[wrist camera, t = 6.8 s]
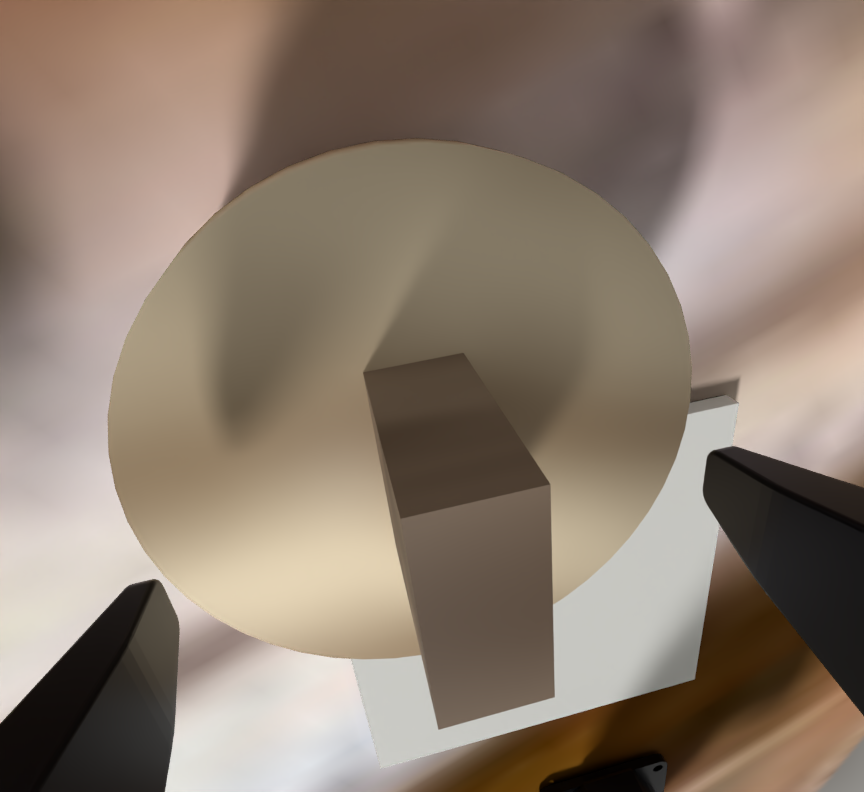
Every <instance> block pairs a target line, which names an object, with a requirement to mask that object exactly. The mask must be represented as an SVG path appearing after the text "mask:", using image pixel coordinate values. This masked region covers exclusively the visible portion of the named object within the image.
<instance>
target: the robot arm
mask: <svg viewBox="0 0 864 792" xmlns="http://www.w3.org/2000/svg"><path fill="white" fill-rule="evenodd" d="M703 497H704V500H705V502H706V504H707V506H708V507H709V509H710V510H711V512H712V514H713V515H714V517H715V518H716V520H717V521H718V523H719V524H720V526H721V528H722V529H723V531H724V532H725V534H726V535H727V537H728V538H729V540H730V541H731V543H732V545H733V546H734V548H735V549H736V551H737V552H738V554H739V555H740V557H741V559H742V560H743V562H744V563H745V565H746V566H747V568H748V569H749V571H750V572H751V574H752V575H753V576H754V578H755V579H756V581H757V582H758V583H759V585H760V586H761V587H762V588H763V590H764V591H765V592H766V594H767V595H768V596H769V597H770V599H771V600H772V601H773V602H774V604H775V605H776V606H777V607H778V609H779V610H780V611H781V612H782V614H783V615H784V616H785V618H786V619H787V620H788V621H789V623H790V624H791V625H792V626H793V628H794V629H795V630H796V631H797V633H798V634H799V635H800V636H801V638H802V639H803V640H804V641H805V643H806V644H807V645H808V646H809V648H810V649H811V650H812V651H813V653H814V654H815V655H816V657H817V658H818V659H819V660H820V662H821V663H822V664H823V665H824V667H825V668H826V669H827V670H828V672H829V673H830V674H831V675H832V677H833V678H834V679H835V680H836V682H837V683H838V684H839V685H840V687H841V688H842V689H843V690H844V692H845V693H846V694H847V695H848V697H849V698H850V699H851V701H852V702H853V703H854V704H855V706H856V707H857V708H858V709H859V711H860V712H861V713H862V714H863V716H864V488H862V487H859V486H856V485H853V484H850V483H847V482H844V481H841V480H838V479H835V478H832V477H828V476H825V475H822V474H819V473H816V472H813V471H810V470H807V469H804V468H801V467H798V466H794V465H791V464H788V463H785V462H782V461H779V460H776V459H773V458H770V457H767V456H764V455H760V454H757V453H754V452H751V451H748V450H745V449H742V448H739V447H735V446H730V447H725V448H721V449H716V450H713V451H711V452H710V453H709V454H708V456H707V459H706V467H705V474H704V481H703ZM178 652H179V622H178V618H177V615H176V613H175V610H174V608H173V606H172V604H171V602H170V600H169V598H168V595H167V593H166V591H165V589H164V587H163V585H162V583H161V582H160V581H159V580H156V579H152V580H148V581H143V582H139V583H135V584H132V585H129V586H128V587H127V588H125V589H124V590H123V591H122V593H121V594H120V595H119V596H118V597H117V598H116V599H115V600H114V601H113V602H112V603H111V604H110V606H109V607H108V608H107V609H106V610H105V611H104V612H103V613H102V614H101V615H100V616H99V617H98V619H97V620H96V621H95V622H94V623H93V624H92V625H91V626H90V627H89V628H88V629H87V630H86V631H85V633H84V634H83V635H82V636H81V637H80V638H79V639H78V640H77V641H76V642H75V643H74V644H73V646H72V647H71V648H70V649H69V650H68V651H67V652H66V653H65V654H64V655H63V656H62V657H61V659H60V660H59V661H58V662H57V663H56V664H55V665H54V666H53V667H52V668H51V669H50V670H49V672H48V673H47V674H46V675H45V676H44V677H43V678H42V679H41V680H40V681H39V682H38V683H37V685H36V686H35V687H34V688H33V689H32V690H31V691H30V692H29V693H28V694H27V695H26V696H25V698H24V699H23V700H22V701H21V702H20V703H19V704H18V705H17V706H16V707H15V708H14V709H13V710H12V712H11V713H10V714H9V715H8V716H7V717H6V718H5V719H4V720H3V721H2V722H1V723H0V792H165V787H166V781H167V775H168V769H169V763H170V757H171V750H172V743H173V736H174V727H175V713H176V693H177V672H178ZM666 772H667V762H666V761H665V759H664V757H663V755H661V754H654V755H650V756H647V757H644V758H640V759H637V760H634V761H630V762H627V763H624V764H620V765H617V766H614V767H610V768H607V769H604V770H600V771H597V772H594V773H590V774H587V775H584V776H580V777H577V778H574V779H570V780H567V781H564V782H561V783H557V784H554V785H551V786H547V787H545V788H543V789H542V790H541V791H540V792H664V786H665V779H666Z"/></svg>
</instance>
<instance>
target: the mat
mask: <svg viewBox="0 0 864 792" xmlns="http://www.w3.org/2000/svg"><path fill="white" fill-rule="evenodd" d="M738 406H739V403H738V402H737V401H735V400H734V399H732V398H731V397H729V396H728V395H724V396H719V397H715V398H710V399H705V400H701V401H696V402H692V403H690V404H689V410H688V415H687V421H686V426H685V431H684V434H683V437H682V441H681V444H680V447H679V450H678V453H677V457H676V459H675V462H674V464H673V466H672V468H671V471H670V473H669V475H668V477H667V480H666V482H665V484H664V486H663V488H662V490H661V491H660V493H659V495H658V497H657V498H656V500H655V502H654V503H653V505H652V507H651V509H650V510H649V512H648V513H647V515H646V516H645V518H644V519H643V520H642V522H641V523H640V524H639V526H638V527H637V528H636V530H635V531H634V532H633V534H632V535H631V537H630V538H629V539H628V540H627V541H626V542H625V543H624V544H623V545H622V547H621V548H620V549H619V550H618V551H617V552H616V553H615V554H614V555H613V557H612V558H611V559H610V560H609V561H608V562H607V563H605V564H604V565H603V566H602V567H601V568H600V569H599V570H598V571H597V572H596V573H595V574H593V575H592V576H591V577H590V578H589V579H588V580H587V581H585V582H584V583H583V584H581V585H580V586H579V587H577V588H576V589H575V590H574V591H572V592H571V593H570V594H568V595H567V596H566V597H564V598H563V599H561V600H560V601H558V602H556V603H555V604H553V631H554V681H555V697H554V698H550V699H547V700H543V701H540V702H536V703H533V704H529V705H526V706H522V707H518V708H515V709H511V710H508V711H504V712H501V713H497V714H494V715H490V716H486V717H483V718H479V719H476V720H472V721H469V722H465V723H462V724H458V725H454V726H451V727H447V728H444V729H440V730H438V726H437V722H436V717H435V713H434V709H433V704H432V700H431V696H430V691H429V687H428V683H427V678H426V674H425V670H424V665H423V661H422V657H421V655H417V656H409V657H401V658H391V659H351V661H352V665H353V669H354V672H355V676H356V680H357V683H358V687H359V691H360V694H361V698H362V702H363V706H364V709H365V713H366V717H367V720H368V724H369V728H370V731H371V735H372V739H373V742H374V746H375V750H376V754H377V757H378V761H379V765H380V768H381V769H383V768H386V767H390V766H393V765H397V764H400V763H404V762H407V761H411V760H414V759H418V758H421V757H425V756H428V755H432V754H435V753H439V752H442V751H446V750H449V749H453V748H456V747H460V746H463V745H467V744H470V743H474V742H477V741H481V740H484V739H488V738H491V737H495V736H498V735H502V734H505V733H509V732H512V731H516V730H519V729H523V728H526V727H530V726H533V725H537V724H540V723H544V722H547V721H551V720H554V719H558V718H561V717H565V716H568V715H572V714H575V713H579V712H582V711H586V710H589V709H593V708H596V707H600V706H603V705H607V704H610V703H614V702H617V701H621V700H624V699H628V698H631V697H635V696H638V695H642V694H645V693H649V692H652V691H656V690H659V689H663V688H666V687H670V686H673V685H677V684H680V683H684V682H687V681H691V680H694V679H695V674H696V668H697V662H698V655H699V649H700V643H701V637H702V630H703V624H704V618H705V612H706V605H707V599H708V593H709V587H710V581H711V574H712V568H713V562H714V556H715V549H716V543H717V537H718V531H719V523H718V521H717V520H716V518H715V517H714V515H713V514H712V512H711V510H710V509H709V507H708V506H707V504H706V502H705V500H704V497H703V481H704V474H705V467H706V459H707V456H708V454H709V453H710V452H711V451H713V450H716V449H721V448H725V447H730V446H732V443H733V437H734V431H735V425H736V418H737V412H738Z"/></svg>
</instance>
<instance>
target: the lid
mask: <svg viewBox="0 0 864 792" xmlns="http://www.w3.org/2000/svg"><path fill="white" fill-rule="evenodd" d="M691 373H692V366H691V356H690V345H689V336H688V332H687V328H686V324H685V320H684V316H683V312H682V308H681V304H680V302H679V300H678V297H677V295H676V292H675V290H674V288H673V285H672V283H671V281H670V278H669V276H668V274H667V272H666V271H665V269H664V267H663V266H662V264H661V263H660V261H659V259H658V258H657V256H656V255H655V253H654V251H653V250H652V248H651V247H650V245H649V244H648V243H647V241H646V240H645V239H644V238H643V237H642V236H641V235H640V233H639V232H638V231H637V230H636V229H635V228H634V227H633V225H632V224H631V223H630V222H629V221H628V220H627V219H626V217H624V216H623V215H622V214H621V213H620V212H618V211H617V210H616V209H615V208H614V207H612V206H611V205H610V204H609V203H607V202H606V201H605V200H604V199H603V198H601V197H600V196H599V195H598V194H597V193H595V192H593V191H592V190H590V189H588V188H587V187H585V186H583V185H582V184H580V183H578V182H576V181H575V180H573V179H571V178H570V177H568V176H566V175H564V174H563V173H561V172H559V171H556V170H553V169H551V168H548V167H546V166H543V165H541V164H538V163H536V162H533V161H531V160H528V159H525V158H523V157H520V156H516V155H513V154H509V153H506V152H502V151H499V150H494V149H490V148H485V147H481V146H477V145H472V144H468V143H463V142H459V141H447V140H434V139H420V138H412V139H398V140H383V141H372V142H367V143H363V144H358V145H353V146H349V147H344V148H340V149H335V150H330V151H328V152H325V153H322V154H320V155H317V156H314V157H312V158H309V159H306V160H304V161H301V162H298V163H295V164H293V165H290V166H288V167H286V168H284V169H282V170H280V171H279V172H277V173H275V174H273V175H271V176H269V177H268V178H266V179H264V180H262V181H260V182H259V183H257V184H255V185H253V186H251V187H249V188H248V189H247V190H245V191H244V192H243V193H242V194H240V195H239V196H238V197H236V198H235V199H234V200H232V201H231V202H230V203H228V204H227V205H226V206H224V207H223V208H222V209H220V210H219V211H218V212H216V213H215V214H214V215H213V216H212V217H211V218H210V219H209V220H208V221H207V222H206V223H205V224H204V225H203V226H202V227H201V228H200V229H199V230H198V231H197V232H196V233H195V234H194V235H193V236H192V237H191V238H190V239H189V240H188V241H187V242H186V243H185V245H184V246H183V247H182V249H181V250H180V252H179V253H178V254H177V256H176V257H175V258H174V260H173V261H172V263H171V264H170V265H169V267H168V268H167V269H166V271H165V272H164V274H163V275H162V276H161V278H160V279H159V281H158V282H157V283H156V285H155V286H154V288H153V289H152V291H151V292H150V293H149V295H148V296H147V298H146V299H145V301H144V303H143V305H142V307H141V309H140V311H139V313H138V315H137V317H136V319H135V321H134V323H133V325H132V327H131V329H130V331H129V333H128V335H127V337H126V339H125V342H124V345H123V348H122V352H121V355H120V358H119V361H118V364H117V367H116V370H115V373H114V377H113V383H112V390H111V397H110V404H109V411H108V448H109V458H110V463H111V468H112V474H113V479H114V484H115V489H116V492H117V494H118V497H119V500H120V502H121V505H122V508H123V510H124V513H125V516H126V518H127V521H128V523H129V525H130V527H131V528H132V530H133V532H134V534H135V535H136V537H137V539H138V541H139V542H140V544H141V546H142V548H143V549H144V551H145V552H146V554H147V555H148V556H149V557H150V559H151V560H152V561H153V562H154V564H155V565H156V566H157V567H158V569H159V570H160V571H161V573H162V574H163V575H164V576H165V577H166V578H167V579H168V580H169V581H170V582H171V583H172V584H173V585H174V586H175V587H176V588H177V589H178V590H179V591H180V592H182V593H183V594H184V595H185V596H186V597H187V598H188V599H189V600H191V601H192V602H193V603H195V604H196V605H198V606H199V607H200V608H202V609H203V610H204V611H206V612H207V613H209V614H210V615H211V616H213V617H214V618H216V619H218V620H220V621H222V622H223V623H225V624H227V625H229V626H231V627H233V628H235V629H236V630H238V631H240V632H242V633H244V634H247V635H249V636H252V637H255V638H257V639H260V640H262V641H265V642H267V643H270V644H272V645H276V646H280V647H283V648H287V649H291V650H294V651H298V652H302V653H308V654H314V655H320V656H326V657H333V658H349V659H391V658H401V657H409V656H417V655H421V657H422V661H423V665H424V670H425V674H426V678H427V683H428V687H429V691H430V696H431V700H432V704H433V709H434V713H435V717H436V722H437V726H438V730H440V729H444V728H447V727H451V726H454V725H458V724H462V723H465V722H469V721H472V720H476V719H479V718H483V717H486V716H490V715H494V714H497V713H501V712H504V711H508V710H511V709H515V708H518V707H522V706H526V705H529V704H533V703H536V702H540V701H543V700H547V699H550V698H554V697H555V681H554V631H553V604H555V603H556V602H558V601H560V600H561V599H563V598H564V597H566V596H567V595H568V594H570V593H571V592H572V591H574V590H575V589H576V588H577V587H579V586H580V585H581V584H583V583H584V582H585V581H587V580H588V579H589V578H590V577H591V576H592V575H593V574H595V573H596V572H597V571H598V570H599V569H600V568H601V567H602V566H603V565H604V564H605V563H607V562H608V561H609V560H610V559H611V558H612V557H613V555H614V554H615V553H616V552H617V551H618V550H619V549H620V548H621V547H622V545H623V544H624V543H625V542H626V541H627V540H628V539H629V538H630V537H631V535H632V534H633V532H634V531H635V530H636V528H637V527H638V526H639V524H640V523H641V522H642V520H643V519H644V518H645V516H646V515H647V513H648V512H649V510H650V509H651V507H652V505H653V503H654V502H655V500H656V498H657V497H658V495H659V493H660V491H661V490H662V488H663V486H664V484H665V482H666V480H667V477H668V475H669V473H670V471H671V468H672V466H673V464H674V462H675V459H676V457H677V453H678V450H679V447H680V444H681V441H682V437H683V434H684V431H685V426H686V421H687V415H688V410H689V404H690V396H691Z"/></svg>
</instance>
